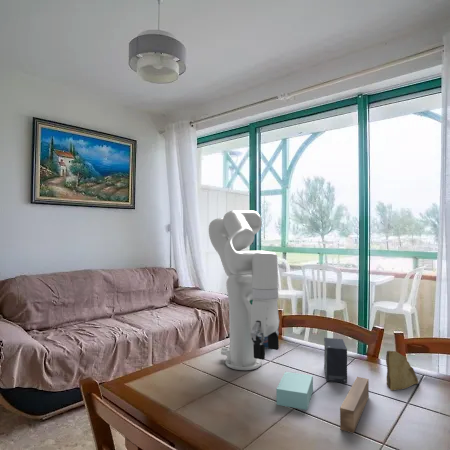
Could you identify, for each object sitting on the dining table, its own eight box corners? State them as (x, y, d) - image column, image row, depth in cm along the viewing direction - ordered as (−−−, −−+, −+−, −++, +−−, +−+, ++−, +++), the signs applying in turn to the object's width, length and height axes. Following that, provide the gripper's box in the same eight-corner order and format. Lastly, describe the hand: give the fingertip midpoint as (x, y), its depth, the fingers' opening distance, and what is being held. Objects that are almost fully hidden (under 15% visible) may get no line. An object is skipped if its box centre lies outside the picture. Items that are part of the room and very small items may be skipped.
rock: (413, 369, 110) (380, 363, 111) (423, 354, 105) (387, 347, 106) (421, 403, 101) (385, 396, 103) (431, 388, 96) (393, 381, 98)
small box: (348, 383, 106) (348, 348, 106) (326, 382, 107) (325, 347, 107) (344, 370, 116) (343, 338, 116) (323, 368, 117) (323, 337, 117)
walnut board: (340, 429, 81) (340, 407, 81) (357, 394, 98) (357, 376, 98) (353, 433, 80) (353, 411, 80) (368, 397, 97) (368, 378, 97)
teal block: (276, 405, 93) (276, 388, 93) (285, 386, 104) (285, 371, 104) (307, 411, 90) (306, 393, 90) (312, 391, 102) (312, 375, 102)
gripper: (266, 289, 112) (267, 344, 111) (239, 297, 97) (240, 360, 96) (288, 291, 108) (289, 347, 107) (264, 299, 93) (265, 365, 92)
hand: (266, 353), depth 101 cm, fingers open, 9 cm apart
